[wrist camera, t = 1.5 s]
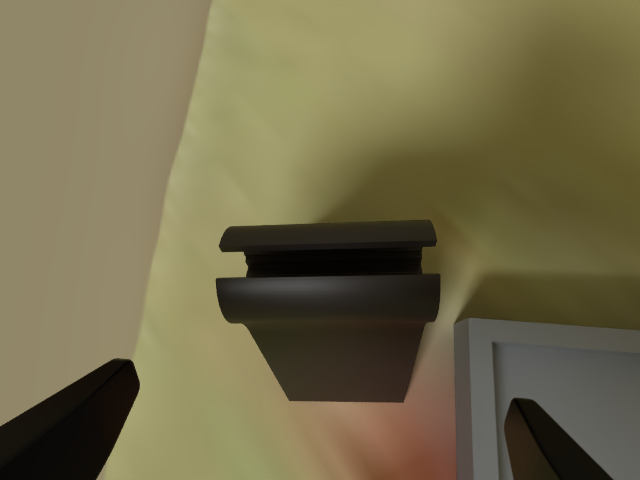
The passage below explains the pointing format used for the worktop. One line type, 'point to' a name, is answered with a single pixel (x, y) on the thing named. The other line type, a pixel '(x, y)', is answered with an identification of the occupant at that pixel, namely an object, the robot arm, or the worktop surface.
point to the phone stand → (334, 304)
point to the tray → (546, 391)
